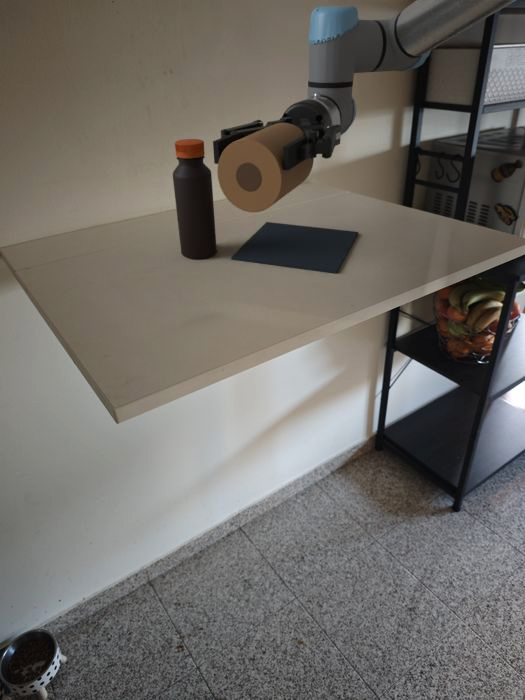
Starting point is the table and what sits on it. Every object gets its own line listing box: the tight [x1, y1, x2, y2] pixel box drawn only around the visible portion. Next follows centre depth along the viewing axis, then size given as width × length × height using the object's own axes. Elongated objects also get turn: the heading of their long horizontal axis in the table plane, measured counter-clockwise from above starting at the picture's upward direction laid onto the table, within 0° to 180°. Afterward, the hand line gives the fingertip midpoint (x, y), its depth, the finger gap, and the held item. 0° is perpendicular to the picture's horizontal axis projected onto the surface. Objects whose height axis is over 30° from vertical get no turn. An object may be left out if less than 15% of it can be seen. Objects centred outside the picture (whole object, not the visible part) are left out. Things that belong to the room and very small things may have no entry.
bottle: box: [172, 138, 218, 260], centre depth 90 cm, size 7×7×20 cm
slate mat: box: [230, 221, 359, 275], centre depth 97 cm, size 20×20×1 cm
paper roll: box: [216, 123, 315, 213], centre depth 67 cm, size 12×9×9 cm
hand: (250, 155), depth 62 cm, fingers closed on paper roll, 9 cm apart
